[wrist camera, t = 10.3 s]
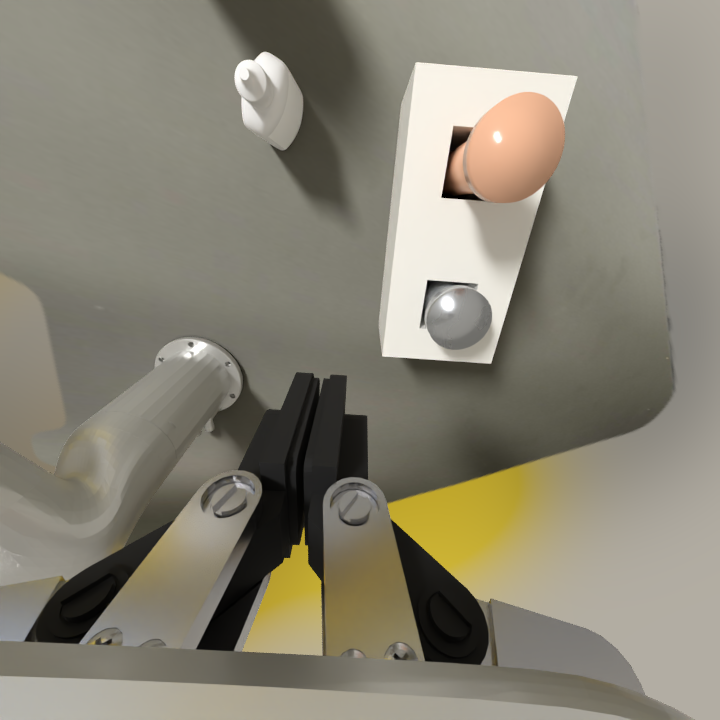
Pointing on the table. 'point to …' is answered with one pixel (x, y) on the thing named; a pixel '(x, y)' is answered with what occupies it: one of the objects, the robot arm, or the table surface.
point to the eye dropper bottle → (269, 99)
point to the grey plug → (455, 314)
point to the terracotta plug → (508, 151)
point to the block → (452, 208)
